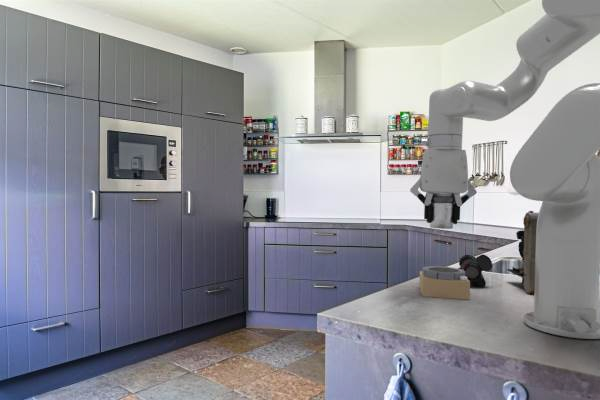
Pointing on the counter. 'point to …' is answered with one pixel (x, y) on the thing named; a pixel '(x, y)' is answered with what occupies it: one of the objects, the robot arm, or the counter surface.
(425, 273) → the mount
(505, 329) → the counter surface
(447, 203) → the lens
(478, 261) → the night vision scope
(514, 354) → the counter surface
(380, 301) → the counter surface
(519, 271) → the vintage camera
